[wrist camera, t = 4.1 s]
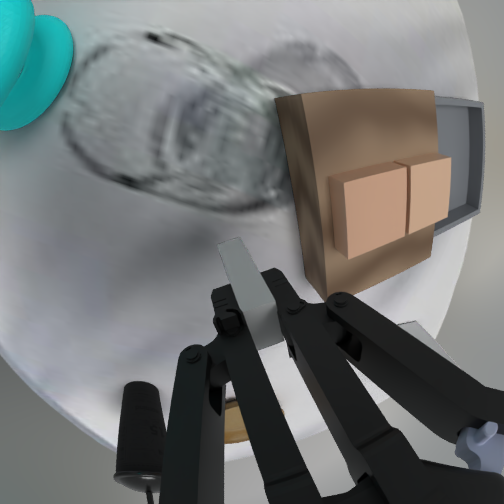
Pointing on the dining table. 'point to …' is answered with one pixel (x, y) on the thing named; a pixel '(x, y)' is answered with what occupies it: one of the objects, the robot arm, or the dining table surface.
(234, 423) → the plant saucer
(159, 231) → the dining table surface
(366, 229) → the front tile
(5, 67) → the donuts
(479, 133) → the tray
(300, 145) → the brown wooden board
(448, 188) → the rear tile
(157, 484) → the drinking cup
